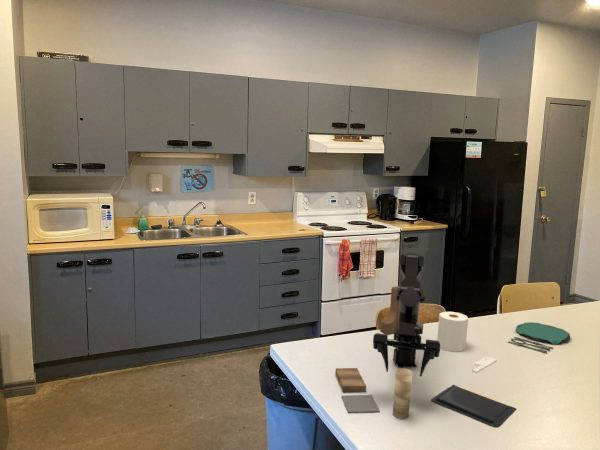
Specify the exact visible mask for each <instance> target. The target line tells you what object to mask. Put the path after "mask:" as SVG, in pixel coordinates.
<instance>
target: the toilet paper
mask: <svg viewBox="0 0 600 450" xmlns="http://www.w3.org/2000/svg"><path fill="white" fill-rule="evenodd" d="M437 325H438V326H437V327H438V328H437V338H436V341H439V342H440V349H441V350H444V351H448V352H453V353H457V352H464V351H465V350H466V349H467V337H468V326H469V317H468V316H467V315H465V314H463V313H461V312H454V311H442V312H440V313H439V314H438V324H437Z"/></svg>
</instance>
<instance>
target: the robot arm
mask: <svg viewBox="0 0 600 450" xmlns="http://www.w3.org/2000/svg"><path fill="white" fill-rule="evenodd" d="M424 265H425V257H424V256H422V255H421V254H418V253H415V252H414V253H411V252H407V253H404V254H401V255H399V267H400V273H401V275H402V277H403V278H404V279H402V280H401V281H400V283H399V284H400V285H399V286H400V288H398V291H397V300H399V317H398V323H397V329H396V330H394V333H393V339H392V338H391V339H390V338H388V337H389V336H388V335H389V334H385V333H377V332H376V333H375V334H373V337H372V345H373V346H372V347H373V349H374V350H377V352H378V353H381V356H382V359H383V363H384V366H385V371H386V372H387V373H388V372H389V353H388V352H389V347H393V348H394V349H393V354H392V355H393V356H392V357H393V358H392V360H393V362H394V363H395V365H396V366H397V367H398V368H417V363H416V353H417V351H423V355H422V360H421V361H422V362H421V364H420V365H421V366H420V371H419V377H422V376H423V373H424V372H425V369H426V367H427V365H428V363H429V362H430V361H431V360H434V359H435V358H439V356H440V352H441V348H440V342H439V341H437V340H436V339H435V340H434V339H427V338H426V339H425V343H423V342H422V336H421V335H423V333H424V322H421V321H419V310H420V304H421V303H423V302H425V299H426V297H425V293H424V291H423V289H421V288H422V286H421V285H422V283H421V282H420V281H419V280H418V278H420V276H421V274H422V273H421V272H422V269H424V268H425V267H424Z"/></svg>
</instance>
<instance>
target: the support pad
mask: <svg viewBox="0 0 600 450" xmlns="http://www.w3.org/2000/svg"><path fill="white" fill-rule="evenodd" d="M341 399H342V402H343V404H344V407H345V409H346V411H347V414H365V413H367V414H368V413H380V412H381V410H380V407H379V406H378V404H377V403H376V401H375V399H374V397H373V395H372V394H357V395H356V394H355V395H341Z"/></svg>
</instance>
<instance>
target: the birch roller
mask: <svg viewBox="0 0 600 450" xmlns="http://www.w3.org/2000/svg"><path fill="white" fill-rule="evenodd" d="M412 380H413V372H412V370H410V369H408V368H405V367H398V368H396V370H395V377H394V393H393V405H392V406H393V407H392V415H393V416H394V417H395V418H396V419H399V420H406V419H409V418H410V409H411V394H412Z"/></svg>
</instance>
